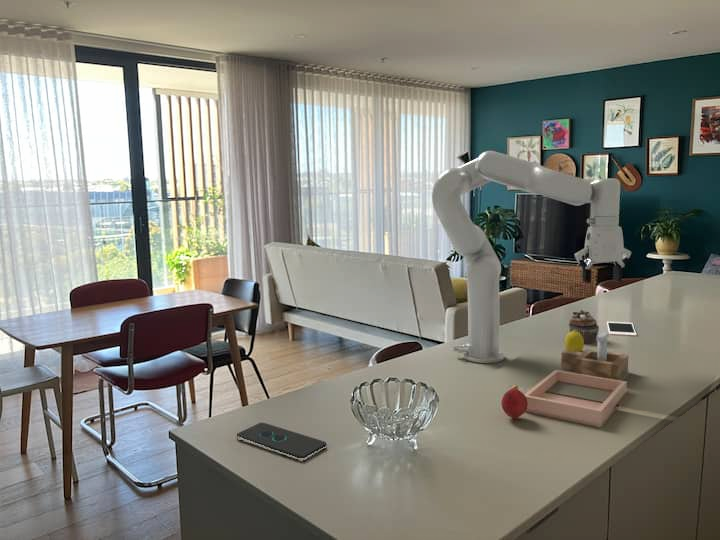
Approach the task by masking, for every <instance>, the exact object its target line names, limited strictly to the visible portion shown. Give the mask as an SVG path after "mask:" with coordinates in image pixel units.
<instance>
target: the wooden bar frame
mask: <svg viewBox="0 0 720 540" xmlns="http://www.w3.org/2000/svg"><path fill="white" fill-rule="evenodd" d="M560 361H561V363H560V365H561V366H560V367H561V368H560V369H561V370H567V371H573V372H575V373H578V374H584V375H590V376H596V377H602V378H608V379H614V380H621V379H622V378H623V377H624V376H625V375H626V374H627V373H628V371H629V354H628V353H627V354H626V353H625V354H624V353H620V352H613V351H611V352H610V351H607V362H606V361H599V360H597V349H592V348H591V349H590V348H587V349H585V350H584V351H581V352H576V351H569V350H567V349H565V350H563V351H562V352H561V359H560Z"/></svg>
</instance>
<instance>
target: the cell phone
mask: <svg viewBox="0 0 720 540" xmlns="http://www.w3.org/2000/svg"><path fill="white" fill-rule="evenodd" d="M606 326H607V332H609V336H621V335H626V336H627V337H637V335H638V334H637V332H636V328H635V326H634V323H633V322H626V321H625V322H624V321H623V322H622V321H606Z"/></svg>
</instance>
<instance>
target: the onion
mask: <svg viewBox="0 0 720 540" xmlns="http://www.w3.org/2000/svg"><path fill="white" fill-rule="evenodd" d="M524 394H525V393H523V392H522V391H521V390H519V386H518V385H513V386H512V387H511V389H509V390H507V391H506V392H505V393H504V394H503V397H502V399H501V408H502V410H503V412H504V413H505V414H506V416H509V418H511V419H514V420H517V419H518V418H520V417H521V416H523V415H524V414H525V413H527V412H526V410H527V406H528V402H527V399H526V397H525V395H524Z"/></svg>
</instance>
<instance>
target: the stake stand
mask: <svg viewBox="0 0 720 540" xmlns="http://www.w3.org/2000/svg"><path fill="white" fill-rule="evenodd" d="M609 336H610V335H609V333H608V331H602V332H600V333H598V335H597V337H596V342H597V349H596V350H597V360H599V361H606V362H607V352H608V338H609ZM558 370H559V371H565V372H571V373H575V372H573V371H567V370H561V368H559V369H558ZM630 373H631V371H629V370H628V373H627V374H626V375H625V376H624V377H623V378H622V379H621V380H620V381H625V379H626V378H627V376H628V375H629V374H630Z"/></svg>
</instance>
